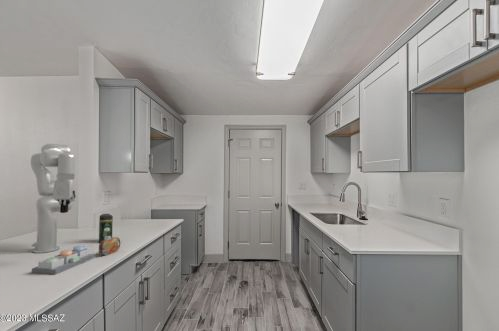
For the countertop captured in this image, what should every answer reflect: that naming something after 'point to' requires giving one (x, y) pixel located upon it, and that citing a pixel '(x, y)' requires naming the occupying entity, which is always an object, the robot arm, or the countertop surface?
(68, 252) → the terracotta button
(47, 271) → the button panel
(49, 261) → the green button
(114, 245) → the tin
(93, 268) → the countertop surface
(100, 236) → the coffee jar
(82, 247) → the slate button
